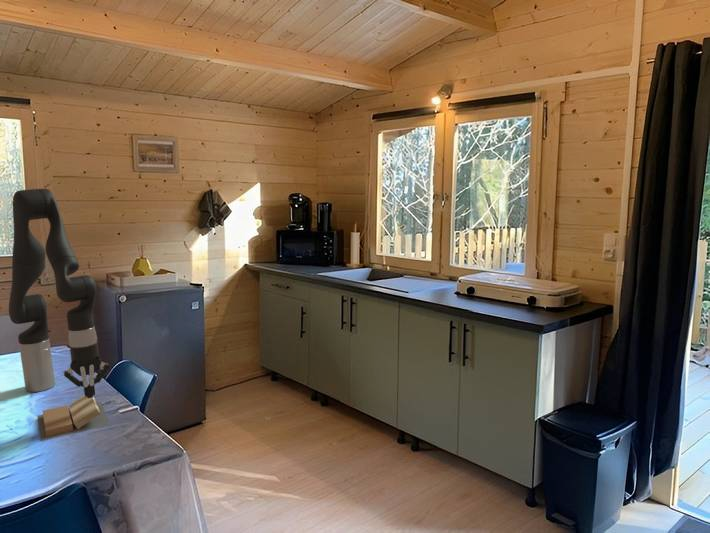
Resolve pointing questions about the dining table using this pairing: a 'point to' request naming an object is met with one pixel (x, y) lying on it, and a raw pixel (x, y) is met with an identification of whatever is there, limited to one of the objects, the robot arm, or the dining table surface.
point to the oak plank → (83, 410)
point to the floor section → (66, 422)
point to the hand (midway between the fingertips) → (90, 397)
